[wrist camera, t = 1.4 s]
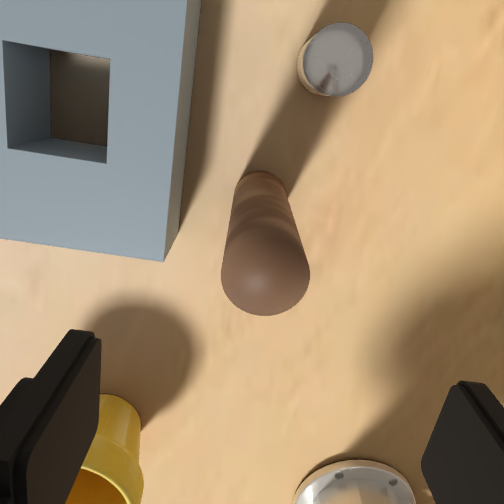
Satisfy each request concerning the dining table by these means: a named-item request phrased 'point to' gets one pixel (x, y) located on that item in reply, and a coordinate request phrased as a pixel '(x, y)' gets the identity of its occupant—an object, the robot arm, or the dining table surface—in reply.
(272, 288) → the long walnut pin
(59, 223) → the hole block
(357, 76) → the short steel pin
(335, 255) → the dining table surface
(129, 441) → the plant pot
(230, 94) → the dining table surface
